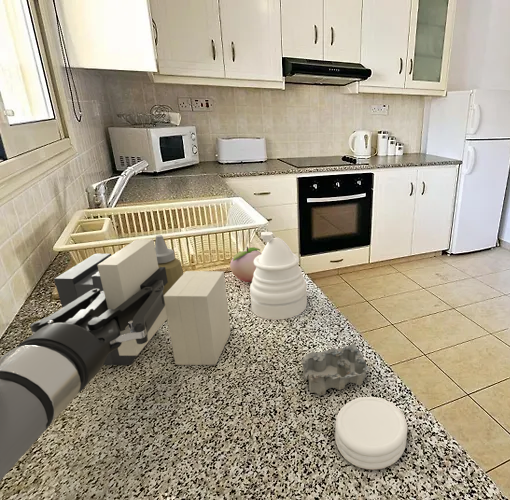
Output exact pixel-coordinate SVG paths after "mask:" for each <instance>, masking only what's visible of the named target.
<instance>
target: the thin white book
mask: <svg viewBox="0 0 510 500" xmlns="http://www.w3.org/2000/svg"><path fill="white" fill-rule="evenodd" d="M97 266H98V270H99V274H100V278H101V282H102V286H103V290H104V294H105V298H106V302H107V307H108V310H109V309H116V308H117V307H118V306H120V305H121V304H122V303H124V302H125V301H126V300H128V299H129V298H131V297H132V296H133V295H135V294H136V293H137V292H139V291H140V290H141V288H140V285H141V284H142V283H143V282H144V281H145V280H147V279H148V278H149V277H150V276H151V275H152V274H153V273H154V272H155V271H157V270H158V269H159V267H158V262H157V256H156V251H155V239H154V238H136V239H134V240H133V241H131V242H129V243H128V244H127V245H125V246H124V247H122V248H121V249H119V250H117V251H116V252H115V253H113V254H111V256H110V257H109V258H107V259H106V260H104V261H103V262H101V263H99V264H98V265H97ZM166 321H167V312H166V306H164V308H163V310H162V311H161V313H160V314H159V316H158V317H157V319H156V320H155V322H154V324H153V325H152V327H151V328H150V330H149V331H148V341H147V342H146V343H143V344H137V342H136V339H135V340H130V341H125V342H122V344H121V346H120V347H119V348H118V352H119V355H120V356H137V355H138V354H139V355H140V353H141V352H142V351H143V350H144V348H145V347H146V346H147V345H148V344H149V342H150V341H151V340H152V338H153V337H154V336H155V335H156V334H157V332H158V331H159V329H160V328H161V327H162V326H163V324H164V323H165V322H166ZM128 326H129V325H128ZM128 326H127V327H128ZM127 327H126V328H127ZM126 328H125V329H126ZM157 330H158V331H157ZM154 334H155V335H154ZM153 335H154V336H153ZM150 339H151V340H150ZM149 340H150V341H149ZM146 344H147V345H146ZM145 345H146V346H145ZM142 349H143V350H142ZM141 350H142V351H141ZM140 351H141V352H140ZM139 355H138V356H139ZM138 356H137V357H138Z"/></svg>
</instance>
